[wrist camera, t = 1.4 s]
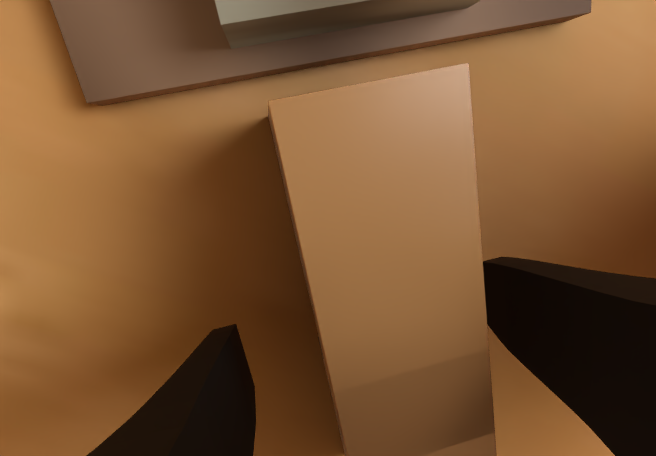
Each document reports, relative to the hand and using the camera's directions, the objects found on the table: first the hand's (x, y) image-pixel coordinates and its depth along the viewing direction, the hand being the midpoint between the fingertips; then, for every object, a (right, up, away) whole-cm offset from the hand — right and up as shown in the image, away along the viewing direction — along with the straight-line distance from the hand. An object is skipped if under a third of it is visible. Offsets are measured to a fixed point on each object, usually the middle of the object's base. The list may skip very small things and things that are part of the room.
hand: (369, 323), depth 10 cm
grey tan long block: (0, 0, +1) cm, 2 cm away
